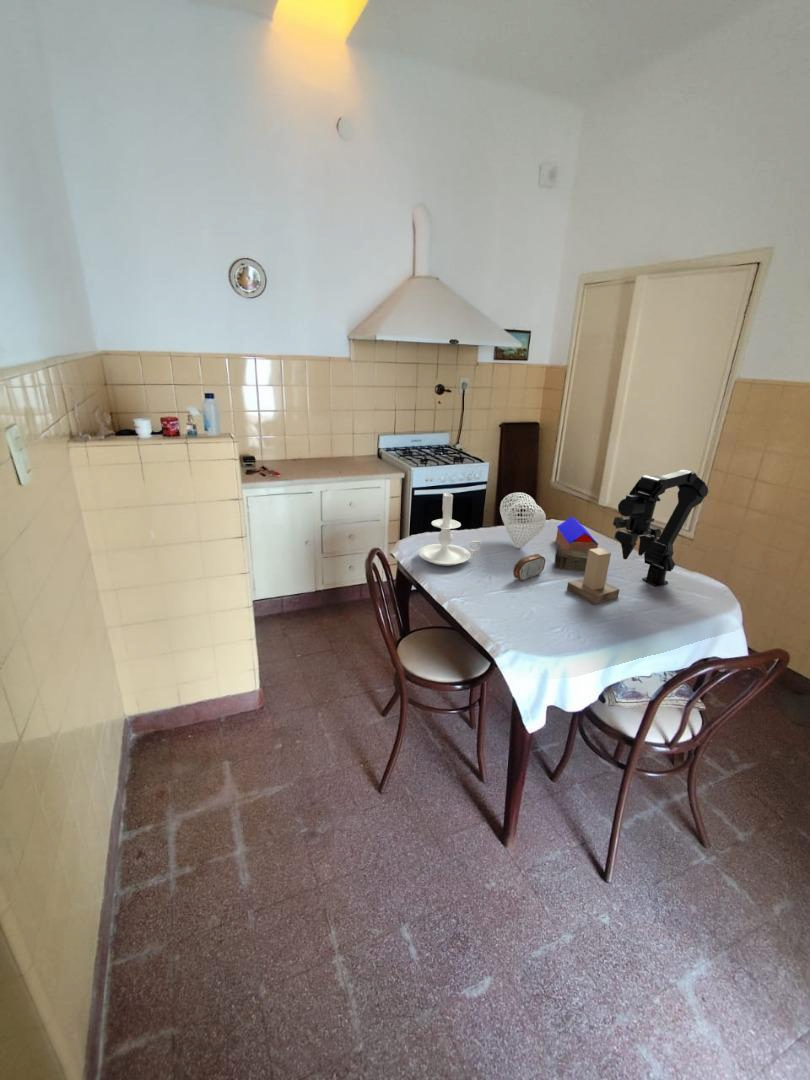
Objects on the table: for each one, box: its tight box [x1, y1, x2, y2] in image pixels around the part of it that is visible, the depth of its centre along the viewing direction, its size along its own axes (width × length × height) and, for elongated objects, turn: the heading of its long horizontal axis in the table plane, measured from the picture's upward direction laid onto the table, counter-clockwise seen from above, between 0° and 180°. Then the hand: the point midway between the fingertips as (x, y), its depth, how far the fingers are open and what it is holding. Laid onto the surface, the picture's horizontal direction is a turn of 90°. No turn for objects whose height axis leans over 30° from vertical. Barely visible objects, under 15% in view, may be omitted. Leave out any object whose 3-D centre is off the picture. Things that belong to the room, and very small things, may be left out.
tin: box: [512, 553, 546, 581], centre depth 181 cm, size 15×3×8 cm, turn 126°
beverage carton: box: [554, 547, 588, 573], centre depth 190 cm, size 8×19×7 cm, turn 78°
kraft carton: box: [583, 547, 612, 590], centre depth 168 cm, size 5×5×13 cm
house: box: [555, 516, 599, 552], centre depth 207 cm, size 12×20×12 cm, turn 177°
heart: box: [499, 492, 547, 549], centre depth 205 cm, size 28×16×22 cm, turn 0°
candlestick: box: [417, 492, 483, 567], centre depth 190 cm, size 21×25×28 cm
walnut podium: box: [566, 577, 620, 606], centre depth 171 cm, size 12×12×3 cm
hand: (632, 557), depth 169 cm, fingers open, 9 cm apart
